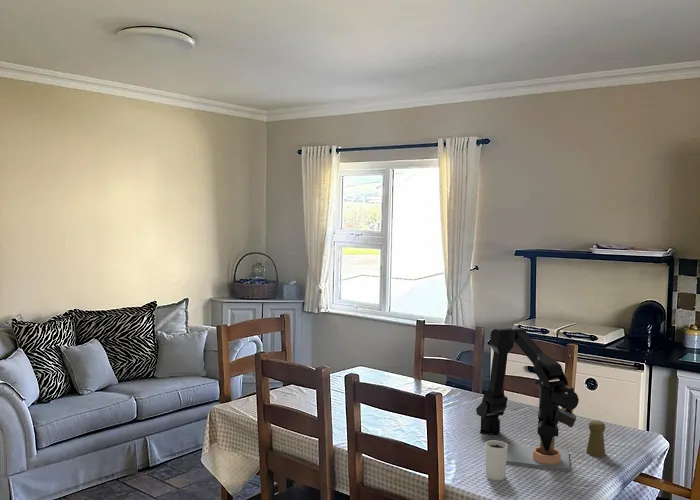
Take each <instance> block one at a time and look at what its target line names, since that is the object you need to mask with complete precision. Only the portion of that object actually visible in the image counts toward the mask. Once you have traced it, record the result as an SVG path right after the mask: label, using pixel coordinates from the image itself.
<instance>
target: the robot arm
mask: <svg viewBox="0 0 700 500" xmlns="http://www.w3.org/2000/svg"><path fill="white" fill-rule="evenodd" d="M489 335H490V346H491V348H492V351H493V355H492V362H491V369H490V378H489V382H488V388H487V390H486V391H485V392H484V394H483V396H482V401H481V403H479V405H478V406H477V407H476V408H475V409H476V415H477V416H480V430H479V433H480V434H487V435H496V436H498V435H499V433H500V431H501V418H500V416H503V415H504V413H505V410H506V408H508V397H507V396H506V395H505V393H504V386H505V385H504V382H505V376H506V370H507V361H508V356H509V352H510V351H512V349H513V348H514V346H515V344H516V345H517V347H519V349H520V351H522V352H523V353H524V355H525V356H526V357H527V359H529V361H530V362H531V363H532V365H533V372H534V373H535V374H536V376H537V378H538V379H537V380H536V381H535V382H534V383H535V385H538V386H539V397H538V398H539V399H538V400H539V401H538V403H539V404H538V405H539V406H538V411H537V419H538V421H537V435H538V436H539V439H540V438H541V441H542V443H543V446H544V449H545V451H549V448H550V444H551V441H552V437H554V436H555V438H556V437H557V438H558V437H559V426H558V424H559V422H560V423H562V424H564V425H566V426H567V427H569V428H574V427H573V426H574V425H575V423H576V420H577V417H576V414H575V413H573V412H572V411H573V410H575V409H576V408H577V407H578V404H579V402H580V401H579V400H580V399H579V396H578V394H577V392H575V389H574V387H571V386H569V381H568V378H567V376H566V374H565V373H564V370H563V367H562V365H561V363H559V362H558V361H557V360H556V359H555V358H553V357H551V356H549V355H546V354H545V353H544V351H542V349H541V348H540V347H539V346H538V345H537V343H536V342H535V341H534V340H533V339H532V337H530V335H528V333H527V330H526V329H525V328H520V327H518V328H510V327H504V328H494V329H492V330H491V331H490V334H489ZM560 407H561V408H560Z"/></svg>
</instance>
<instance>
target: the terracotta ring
mask: <svg viewBox="0 0 700 500" xmlns="http://www.w3.org/2000/svg"><path fill="white" fill-rule="evenodd" d="M534 447H535V448H533V459H534V460H536V461H538V462H540V463H546V464H556V463H560V458H561V453H560V451H559V450H557V448H555V447H554V455H552V456H551V455H542V454H540V445H539V446H534Z"/></svg>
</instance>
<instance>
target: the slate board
mask: <svg viewBox="0 0 700 500" xmlns="http://www.w3.org/2000/svg"><path fill="white" fill-rule="evenodd" d="M506 444H507V445H508V448H507V461H506V465H514V466H521V467H528V468H529V467H531V468H537V469H545V470H552V471H553V470H554V471H560V472H569V473H570V472H571V465H570V463H571V462H570V456H569V455H570V454H569V450H568V449H557V448H556V449H557V450H559V451H560V453H561V458H560V463H556V464H546V463H540V462H538V461H536V460H534V459H533V448H535V447H536V446H532V445H524V444H517V443H516V444H515V443H506Z"/></svg>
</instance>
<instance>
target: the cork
mask: <svg viewBox="0 0 700 500" xmlns="http://www.w3.org/2000/svg"><path fill="white" fill-rule="evenodd" d="M588 428H589V437H588V441H587V446H586V454H587V455H588V456H591V457H596V458H603V457H606V448H605V447H606V446H605V437H604V432H605V431H606V424H605V423H604V422H603V421H600V420H594V419H593V420H591V421H590V422H589V423H588Z"/></svg>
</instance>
